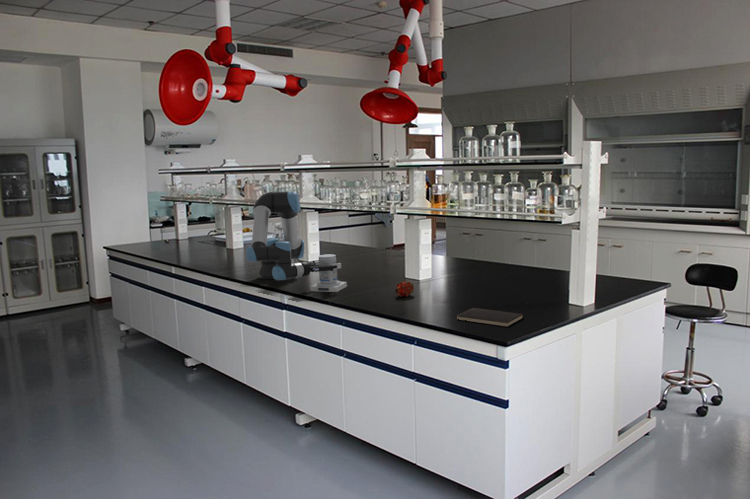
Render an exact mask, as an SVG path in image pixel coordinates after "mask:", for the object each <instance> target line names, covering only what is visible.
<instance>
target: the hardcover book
mask: <svg viewBox="0 0 750 499" xmlns="http://www.w3.org/2000/svg"><path fill="white" fill-rule="evenodd" d="M455 317H456V320H458V319H459V321H465V320H466V321H467V322H471V323H472V322H475V323H479V324H481V323H482V324H487V325H494V326H502V327H509V326H511V325H512V324H514V323H516V322H518V321H519V320H521V319H523V318H524V314H523V313H515V312H508V311H501V310H492V309H485V308H484V309H483V308H476V307H472V308H470V309H467V310H465V311H462V312H461V313H459V314H457V315H455Z"/></svg>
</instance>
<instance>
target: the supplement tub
mask: <svg viewBox="0 0 750 499" xmlns="http://www.w3.org/2000/svg"><path fill="white" fill-rule="evenodd" d="M336 256H337V255H336V254H333V253H332V254H331V253H329V254H321V255H319V256H318V262H319V265H331V264H337V257H336ZM318 273H319V281H320V282H321V283H323V284H331V283H335V282H337V280H338V269H333V271H319V272H318Z"/></svg>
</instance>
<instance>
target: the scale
mask: <svg viewBox="0 0 750 499" xmlns="http://www.w3.org/2000/svg"><path fill="white" fill-rule="evenodd" d="M347 283H348V282H347V281H341V280H338V279H337V282H335V283H331V284H323V283H321V282H320V280H319V281H317V282H316V283H315V284H312V285H310V287H309V288H310V292H326V293H328V292H329V293H338V292H340V291H341V290H343V289H345V288H347V287H348V284H347Z"/></svg>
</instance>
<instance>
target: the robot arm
mask: <svg viewBox="0 0 750 499" xmlns="http://www.w3.org/2000/svg"><path fill="white" fill-rule="evenodd" d="M300 201H301V200H300V196H299V193H298V192H296V191H290V190H288V191H274V192H272V191H271V192H270V191H269V192H266V193H263V194H262V195H260V196H259V198H257V200H256V201H255V203H254V205H253V208H252V214H253V224H252V225H253V228H252V237H251V246H247V247H246V253H245V254H246V260H247V261H248V262H255V263H256V262H260V268H259V271H258V278H259V279H261V280H273V279H274V280H275V281H286V280H290V279H298V278H301V277H308V276H309V275H310V273H314V272H315V273H319V271H333V269H337V270H338V269H342V262H338V263H337V262H336V264H331V265H319V261H315V260H312V262H311V261H310V262H307V261H301V262H293V263H292V260H299V259H303V258H304V253H305V240H304V239H302V238H301V237H300V236H299V230H298V222H297V215H298V214H299V212H301V202H300ZM272 214H277V215H278V217H279V218H280V219H281V226H282V234H283V238H282V240H280V238H278V237H274V238H269V239H268V232H269V231H268V229H269V217H270V216H271V215H272Z"/></svg>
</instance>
